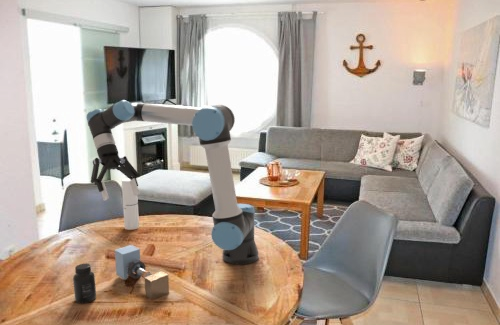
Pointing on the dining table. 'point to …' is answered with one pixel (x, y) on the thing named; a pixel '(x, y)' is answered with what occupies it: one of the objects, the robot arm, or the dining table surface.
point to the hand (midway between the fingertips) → (122, 197)
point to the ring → (133, 267)
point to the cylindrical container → (129, 206)
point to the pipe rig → (153, 282)
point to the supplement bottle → (84, 284)
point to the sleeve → (125, 259)
